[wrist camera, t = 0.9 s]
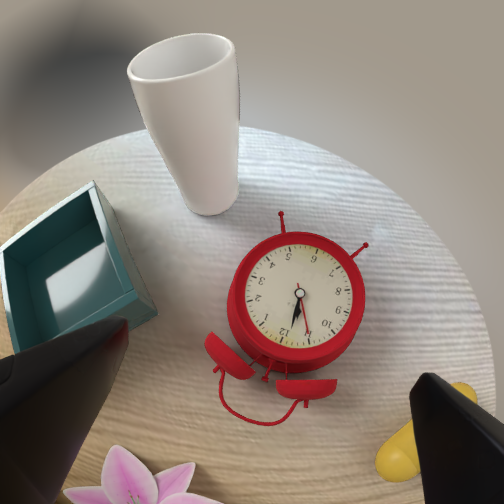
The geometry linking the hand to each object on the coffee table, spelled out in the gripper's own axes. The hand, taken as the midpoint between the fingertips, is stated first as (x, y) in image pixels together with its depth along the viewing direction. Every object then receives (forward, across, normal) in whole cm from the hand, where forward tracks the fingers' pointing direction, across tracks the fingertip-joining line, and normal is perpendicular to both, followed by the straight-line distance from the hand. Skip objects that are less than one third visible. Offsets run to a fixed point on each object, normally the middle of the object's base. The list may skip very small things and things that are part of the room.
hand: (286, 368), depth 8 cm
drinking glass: (+22, +6, 0) cm, 23 cm away
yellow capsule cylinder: (+7, -15, +11) cm, 20 cm away
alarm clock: (+13, -3, +7) cm, 15 cm away
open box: (+15, +16, +10) cm, 24 cm away
